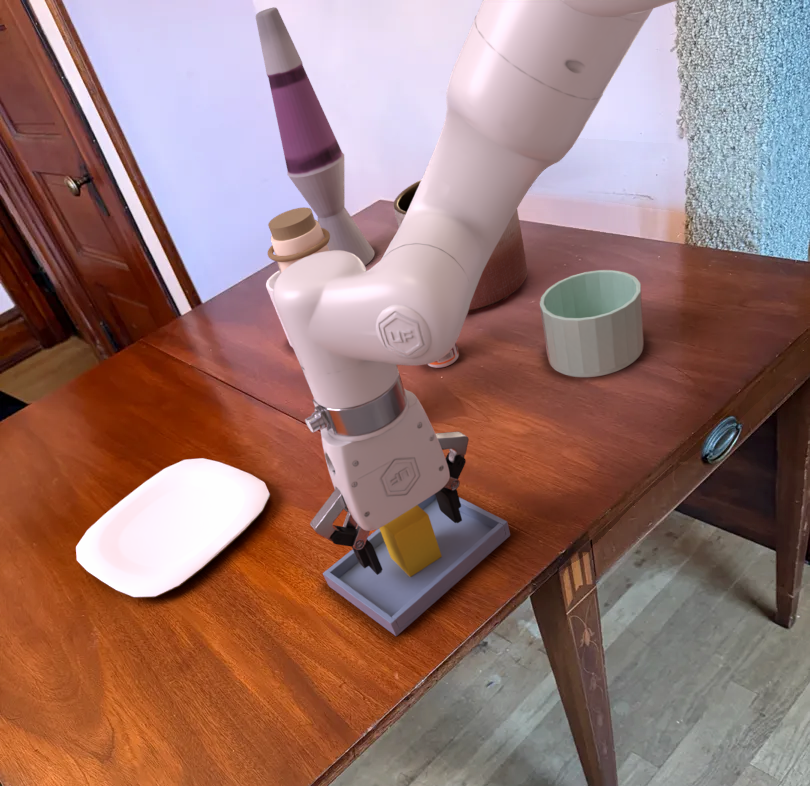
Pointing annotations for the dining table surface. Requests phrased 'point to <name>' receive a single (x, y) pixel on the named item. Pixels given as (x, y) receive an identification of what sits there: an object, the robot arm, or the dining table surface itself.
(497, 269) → the planter
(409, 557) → the yellow block
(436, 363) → the pill bottle
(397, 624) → the tray
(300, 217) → the water bottle
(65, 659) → the dining table surface
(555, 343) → the mint faceted tub
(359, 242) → the lamp
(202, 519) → the plate
